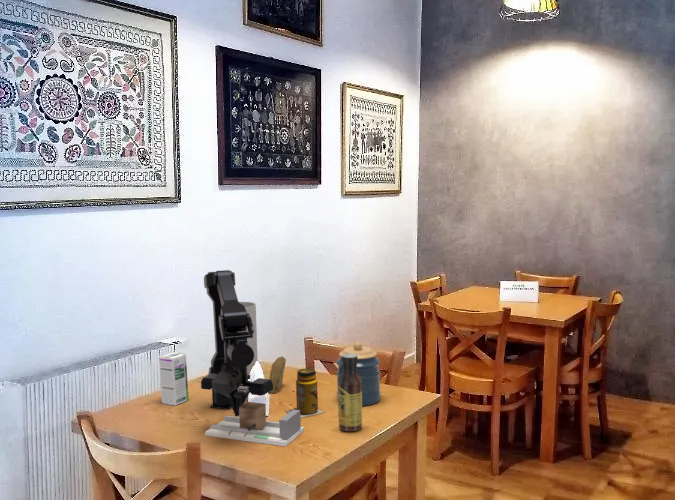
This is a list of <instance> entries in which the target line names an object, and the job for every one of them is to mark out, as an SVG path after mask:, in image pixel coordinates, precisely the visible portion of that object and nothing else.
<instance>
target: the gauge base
mask: <svg viewBox="0 0 675 500" xmlns="http://www.w3.org/2000/svg"><path fill="white" fill-rule="evenodd" d="M291 410H292V409H291ZM301 422H302V421H301V418H300V410H292V411H291V412H289V413H288V412H287V413H286V414H285V415H284V416H283V417H281V418H280V419H279V420H278V421H271V420H266V426H265V427H264V428H263V429H261V430H253V429H252V430H250V431H248V429H246V428H240V419H239V416H238V417H237V416H232V415H231V416H230V415H224V416H223V420H221V421H220V422H218V423H216V424H213V423H212V424H210V428H209V429H207V430H206V431H205V432H204V433H205V436H206V437H213V438H214V437H216V438H221V439H229V440H236V441H242V442H249V443H259V444H264V445H272V446H273V445H274V446H279V447H287V446H288V445H289V444H290V443H291V442H292V441H294V440H295V439H296V438H297V437H299V436H300V435H301V434H302V433H303V432H305V428H304V426H302V425H301Z"/></svg>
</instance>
